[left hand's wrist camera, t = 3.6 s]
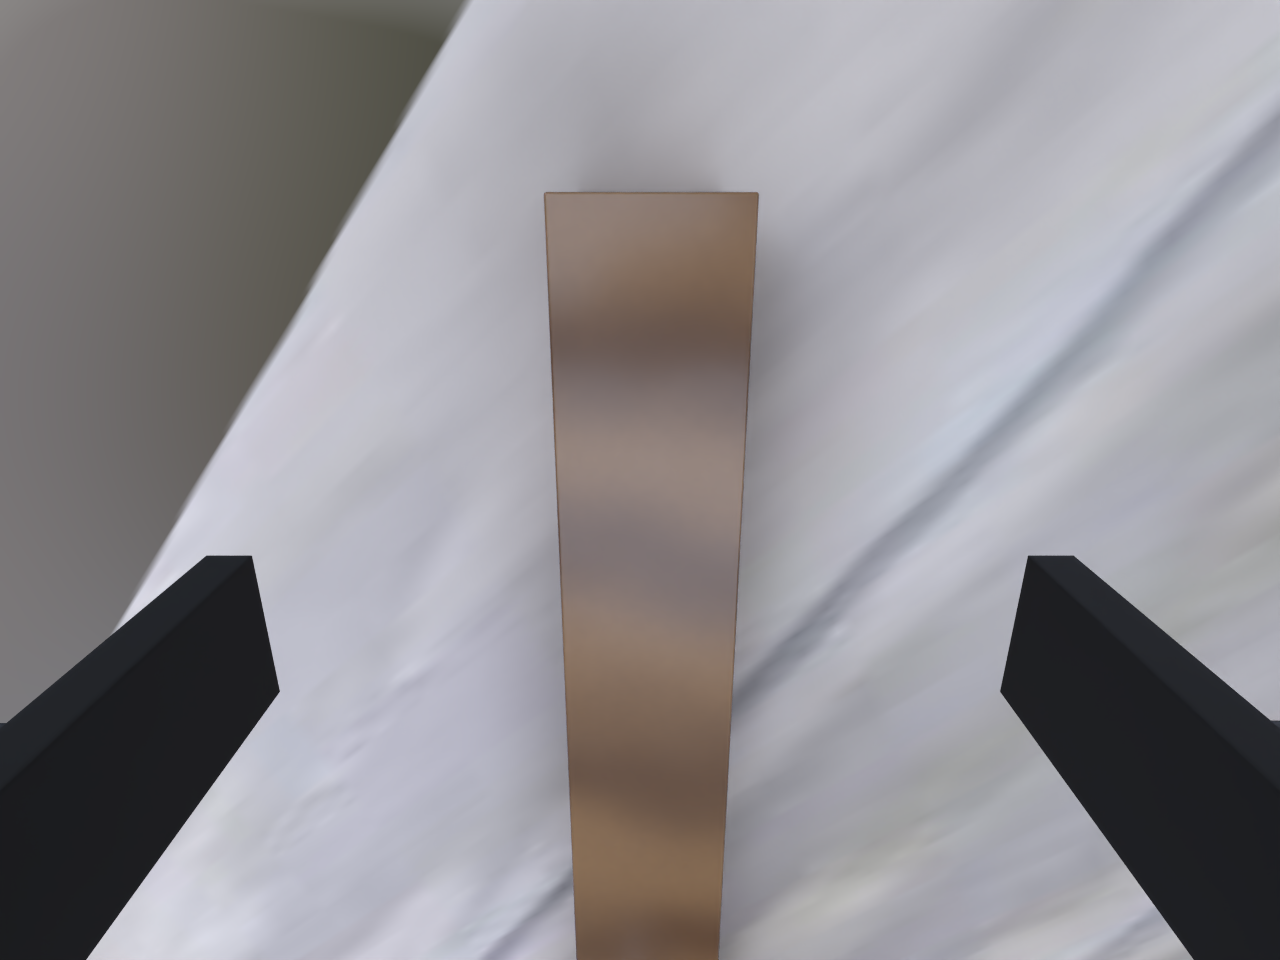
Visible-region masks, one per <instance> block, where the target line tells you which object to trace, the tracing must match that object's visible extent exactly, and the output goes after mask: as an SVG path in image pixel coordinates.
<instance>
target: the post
mask: <svg viewBox="0 0 1280 960" xmlns="http://www.w3.org/2000/svg"><path fill="white" fill-rule="evenodd" d="M758 202H759V194H758V193H757V192H545V193H544V209H545V232H546V255H547V279H548V302H549V325H550V349H551V372H552V396H553V419H554V442H555V466H556V489H557V512H558V536H559V559H560V583H561V606H562V629H563V653H564V676H565V699H566V723H567V746H568V770H569V793H570V816H571V840H572V863H573V887H574V910H575V933H576V957H577V960H718V957H719V939H720V920H721V901H722V882H723V863H724V844H725V825H726V806H727V787H728V769H729V750H730V731H731V712H732V693H733V674H734V655H735V636H736V618H737V599H738V580H739V561H740V542H741V523H742V504H743V485H744V466H745V448H746V429H747V410H748V391H749V372H750V353H751V334H752V315H753V296H754V278H755V259H756V240H757V221H758Z"/></svg>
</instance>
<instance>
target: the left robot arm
mask: <svg viewBox="0 0 1280 960" xmlns="http://www.w3.org/2000/svg"><path fill="white" fill-rule="evenodd" d="M279 692H280V690H279V685H278V681H277V676H276V671H275V666H274V661H273V656H272V651H271V647H270V642H269V637H268V632H267V627H266V622H265V617H264V612H263V608H262V603H261V598H260V593H259V588H258V583H257V578H256V574H255V569H254V564H253V559H252V556H206V557H204V558H203V559H202V560H201V561H200V562H198V563H197V564H196V565H195V566H194V567H192V568H191V569H190V570H189V571H188V572H186V573H185V574H184V575H183V576H182V577H181V578H179V579H178V580H177V581H176V582H175V583H173V584H172V585H171V586H170V587H169V588H167V589H166V590H165V591H164V592H163V593H161V594H160V595H159V596H158V597H157V598H155V599H154V600H153V601H152V602H151V603H149V604H148V605H147V606H146V607H145V608H143V609H142V610H141V611H140V612H139V613H137V614H136V615H135V616H134V617H133V618H132V619H130V620H129V621H128V622H127V623H126V624H124V625H123V626H122V627H121V628H120V629H118V630H117V631H116V632H115V633H114V634H112V635H111V636H110V637H109V638H108V639H106V640H105V641H104V642H103V643H102V644H100V645H99V646H98V647H97V648H96V649H94V650H93V651H92V652H91V653H90V654H89V655H87V656H86V657H85V658H84V659H83V660H81V661H80V662H79V663H78V664H77V665H75V666H74V667H73V668H72V669H71V670H69V671H68V672H67V673H66V674H65V675H63V676H62V677H61V678H60V679H59V680H57V681H56V682H55V683H54V684H53V685H51V686H50V687H49V688H48V689H47V690H45V691H44V692H43V693H42V694H41V695H40V696H38V697H37V698H36V699H35V700H34V701H32V702H31V703H30V704H29V705H28V706H26V707H25V708H24V709H23V710H22V711H20V712H19V713H18V714H17V715H16V716H14V717H13V718H12V719H11V720H10V721H8V722H7V723H0V960H86V959H87V958H88V956H89V955H90V954H91V952H92V951H93V949H94V948H95V947H96V945H97V944H98V943H99V941H100V940H101V938H102V937H103V936H104V934H105V933H106V931H107V930H108V929H109V927H110V926H111V925H112V923H113V922H114V920H115V919H116V918H117V916H118V915H119V913H120V912H121V911H122V909H123V908H124V907H125V905H126V904H127V902H128V901H129V900H130V898H131V897H132V895H133V894H134V893H135V891H136V890H137V889H138V887H139V886H140V884H141V883H142V882H143V880H144V879H145V877H146V876H147V875H148V873H149V872H150V871H151V869H152V868H153V866H154V865H155V864H156V862H157V861H158V859H159V858H160V857H161V855H162V854H163V853H164V851H165V850H166V848H167V847H168V846H169V844H170V843H171V842H172V840H173V839H174V837H175V836H176V835H177V833H178V832H179V830H180V829H181V828H182V826H183V825H184V824H185V822H186V821H187V819H188V818H189V817H190V815H191V814H192V812H193V811H194V810H195V808H196V807H197V806H198V804H199V803H200V801H201V800H202V799H203V797H204V796H205V794H206V793H207V792H208V790H209V789H210V788H211V786H212V785H213V783H214V782H215V781H216V779H217V778H218V776H219V775H220V774H221V772H222V771H223V770H224V768H225V767H226V765H227V764H228V763H229V761H230V760H231V758H232V757H233V756H234V754H235V753H236V752H237V750H238V749H239V747H240V746H241V745H242V743H243V742H244V740H245V739H246V738H247V736H248V735H249V734H250V732H251V731H252V729H253V728H254V727H255V725H256V724H257V722H258V721H259V720H260V718H261V717H262V716H263V714H264V713H265V711H266V710H267V709H268V707H269V706H270V704H271V703H272V702H273V700H274V699H275V698H276V696H277V695H278V693H279ZM1000 692H1001V693H1002V695H1003V696H1004V698H1005V699H1006V700H1007V702H1008V703H1009V704H1010V706H1011V707H1012V709H1013V710H1014V711H1015V713H1016V714H1017V716H1018V717H1019V718H1020V720H1021V721H1022V722H1023V724H1024V725H1025V727H1026V728H1027V729H1028V731H1029V732H1030V734H1031V735H1032V736H1033V738H1034V739H1035V740H1036V742H1037V743H1038V745H1039V746H1040V747H1041V749H1042V750H1043V752H1044V753H1045V754H1046V756H1047V757H1048V758H1049V760H1050V761H1051V763H1052V764H1053V765H1054V767H1055V768H1056V770H1057V771H1058V772H1059V774H1060V775H1061V776H1062V778H1063V779H1064V781H1065V782H1066V783H1067V785H1068V786H1069V788H1070V789H1071V790H1072V792H1073V793H1074V794H1075V796H1076V797H1077V799H1078V800H1079V801H1080V803H1081V804H1082V806H1083V807H1084V808H1085V810H1086V811H1087V812H1088V814H1089V815H1090V817H1091V818H1092V819H1093V821H1094V822H1095V824H1096V825H1097V826H1098V828H1099V829H1100V830H1101V832H1102V833H1103V835H1104V836H1105V837H1106V839H1107V840H1108V842H1109V843H1110V844H1111V846H1112V847H1113V848H1114V850H1115V851H1116V853H1117V854H1118V855H1119V857H1120V858H1121V860H1122V861H1123V862H1124V864H1125V865H1126V866H1127V868H1128V869H1129V871H1130V872H1131V873H1132V875H1133V876H1134V877H1135V879H1136V880H1137V882H1138V883H1139V884H1140V886H1141V887H1142V889H1143V890H1144V891H1145V893H1146V894H1147V895H1148V897H1149V898H1150V900H1151V901H1152V902H1153V904H1154V905H1155V907H1156V908H1157V909H1158V911H1159V912H1160V913H1161V915H1162V916H1163V918H1164V919H1165V920H1166V922H1167V923H1168V925H1169V926H1170V927H1171V929H1172V930H1173V931H1174V933H1175V934H1176V936H1177V937H1178V938H1179V940H1180V941H1181V943H1182V944H1183V945H1184V947H1185V948H1186V949H1187V951H1188V952H1189V954H1190V955H1191V956H1192V958H1193V959H1194V960H1280V721H1270V720H1269V719H1268V718H1267V717H1266V716H1264V715H1263V714H1262V713H1261V712H1260V711H1258V710H1257V709H1256V708H1255V707H1254V706H1252V705H1251V704H1250V703H1249V702H1248V701H1246V700H1245V699H1244V698H1243V697H1242V696H1240V695H1239V694H1238V693H1237V692H1236V691H1235V690H1233V689H1232V688H1231V687H1230V686H1229V685H1227V684H1226V683H1225V682H1224V681H1223V680H1221V679H1220V678H1219V677H1218V676H1217V675H1215V674H1214V673H1213V672H1212V671H1211V670H1209V669H1208V668H1207V667H1206V666H1205V665H1203V664H1202V663H1201V662H1200V661H1199V660H1197V659H1196V658H1195V657H1194V656H1193V655H1191V654H1190V653H1189V652H1188V651H1187V650H1186V649H1184V648H1183V647H1182V646H1181V645H1180V644H1178V643H1177V642H1176V641H1175V640H1174V639H1172V638H1171V637H1170V636H1169V635H1168V634H1166V633H1165V632H1164V631H1163V630H1162V629H1160V628H1159V627H1158V626H1157V625H1156V624H1154V623H1153V622H1152V621H1151V620H1150V619H1148V618H1147V617H1146V616H1145V615H1144V614H1143V613H1141V612H1140V611H1139V610H1138V609H1137V608H1135V607H1134V606H1133V605H1132V604H1131V603H1129V602H1128V601H1127V600H1126V599H1125V598H1123V597H1122V596H1121V595H1120V594H1119V593H1117V592H1116V591H1115V590H1114V589H1113V588H1111V587H1110V586H1109V585H1108V584H1107V583H1105V582H1104V581H1103V580H1102V579H1101V578H1099V577H1098V576H1097V575H1096V574H1095V573H1094V572H1092V571H1091V570H1090V569H1089V568H1088V567H1086V566H1085V565H1084V564H1083V563H1082V562H1080V561H1079V560H1078V559H1077V558H1076V557H1074V556H1028V559H1027V564H1026V569H1025V574H1024V578H1023V583H1022V588H1021V593H1020V598H1019V603H1018V608H1017V612H1016V617H1015V622H1014V627H1013V632H1012V637H1011V642H1010V647H1009V651H1008V656H1007V661H1006V666H1005V671H1004V676H1003V681H1002V685H1001V690H1000Z"/></svg>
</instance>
